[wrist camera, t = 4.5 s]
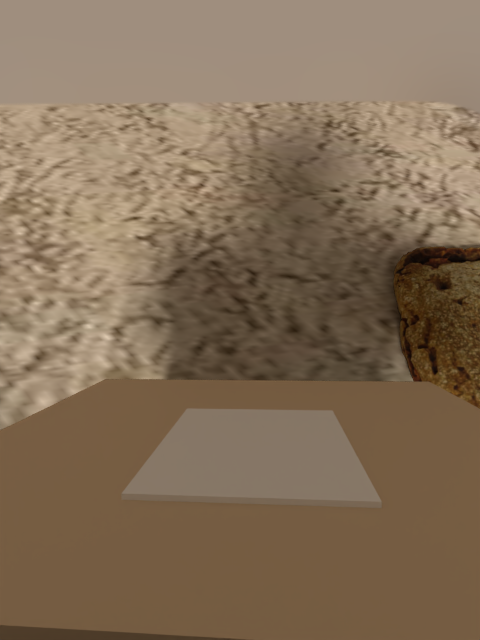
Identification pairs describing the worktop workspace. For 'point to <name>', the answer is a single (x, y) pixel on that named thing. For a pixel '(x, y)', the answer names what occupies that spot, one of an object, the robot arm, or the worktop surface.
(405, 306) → the pastry
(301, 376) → the worktop surface
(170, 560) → the lid flap
